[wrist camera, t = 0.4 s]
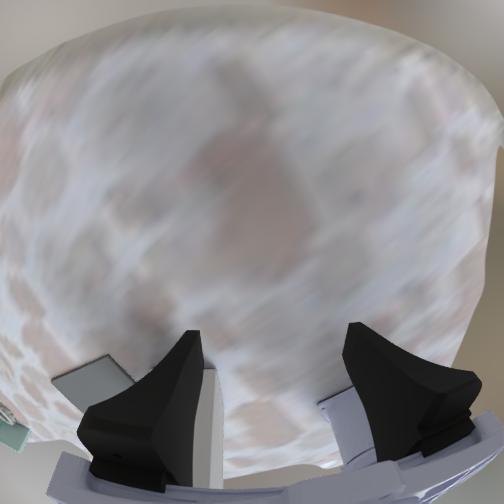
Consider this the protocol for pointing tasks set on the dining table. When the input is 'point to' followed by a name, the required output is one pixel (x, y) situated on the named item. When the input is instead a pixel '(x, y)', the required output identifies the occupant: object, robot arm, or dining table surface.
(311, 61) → the dining table surface
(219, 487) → the milk carton
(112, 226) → the dining table surface
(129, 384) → the mat
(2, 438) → the l-shaped corner panel
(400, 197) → the dining table surface
